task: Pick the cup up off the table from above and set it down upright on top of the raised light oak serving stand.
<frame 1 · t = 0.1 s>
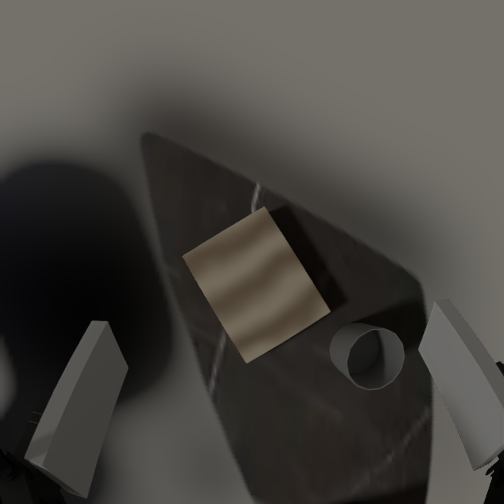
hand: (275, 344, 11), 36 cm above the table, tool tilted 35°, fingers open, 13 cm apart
cup: (354, 348, 45), on the table
oak stand: (256, 285, 47), on the table
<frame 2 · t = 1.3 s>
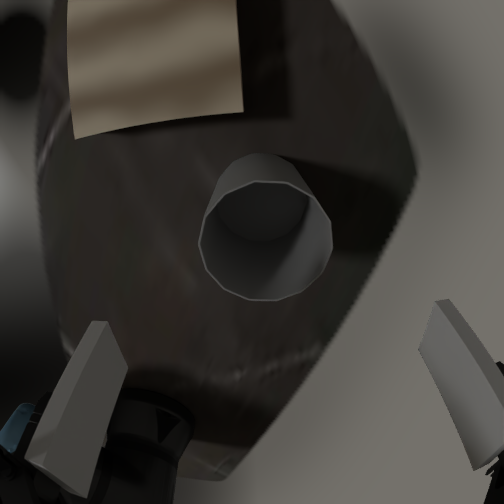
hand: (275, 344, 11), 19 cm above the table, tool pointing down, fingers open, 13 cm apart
cup: (261, 197, 28), on the table
oak stand: (157, 27, 20), on the table
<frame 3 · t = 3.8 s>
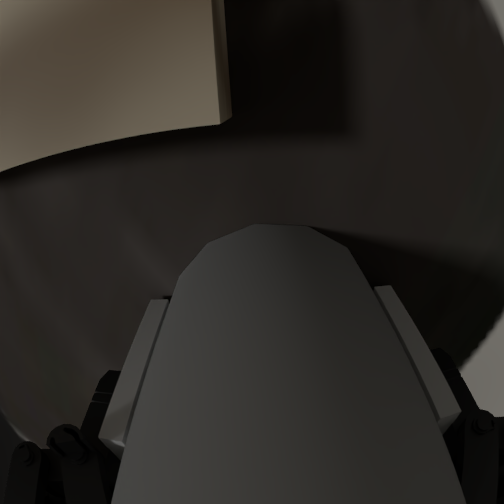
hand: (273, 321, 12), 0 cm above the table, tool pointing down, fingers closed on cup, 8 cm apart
cup: (272, 312, 13), on the table, touching gripper
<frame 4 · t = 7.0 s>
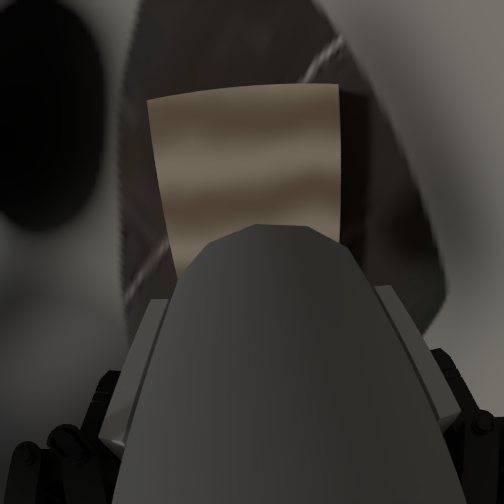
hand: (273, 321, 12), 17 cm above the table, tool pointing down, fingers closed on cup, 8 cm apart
cup: (272, 312, 13), point 16 cm above the table, touching gripper
oak stand: (251, 190, 27), on the table
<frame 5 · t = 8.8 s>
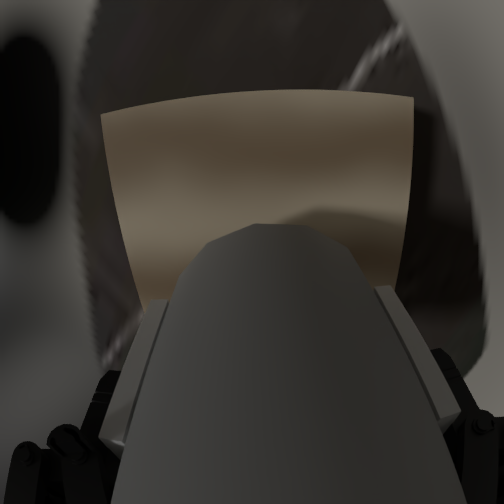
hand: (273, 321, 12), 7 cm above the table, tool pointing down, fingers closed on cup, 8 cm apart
cup: (272, 312, 13), point 7 cm above the table, touching gripper
oak stand: (265, 246, 19), on the table
when the fingers open (6 cm above the table, at t = 10.0 s): cup drops 1 cm, resting on oak stand.
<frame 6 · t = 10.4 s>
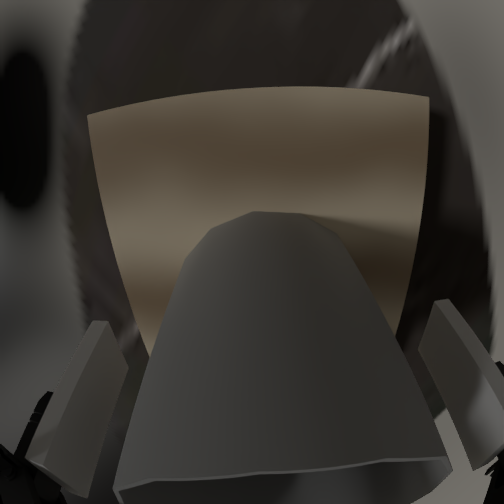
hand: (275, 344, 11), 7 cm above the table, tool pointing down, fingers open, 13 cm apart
cup: (269, 294, 14), point 4 cm above the table, touching oak stand
oak stand: (267, 255, 18), on the table
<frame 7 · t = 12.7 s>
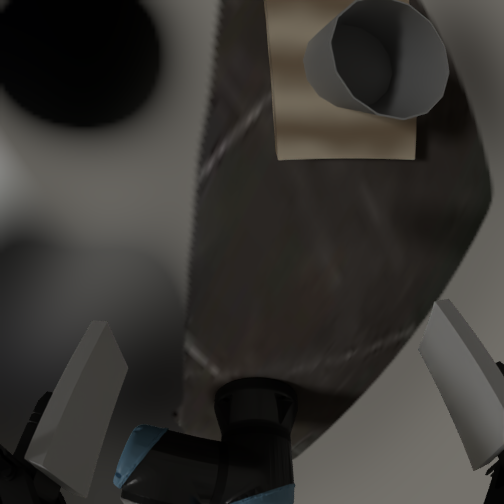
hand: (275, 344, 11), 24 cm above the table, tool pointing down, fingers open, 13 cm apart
cup: (348, 66, 23), point 4 cm above the table, touching oak stand
oak stand: (338, 68, 26), on the table
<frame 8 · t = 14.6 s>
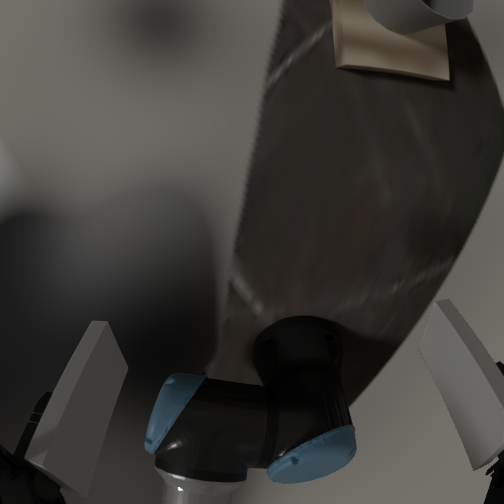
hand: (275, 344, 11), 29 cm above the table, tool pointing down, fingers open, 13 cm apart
cup: (394, 3, 23), point 4 cm above the table, touching oak stand
oak stand: (382, 10, 26), on the table
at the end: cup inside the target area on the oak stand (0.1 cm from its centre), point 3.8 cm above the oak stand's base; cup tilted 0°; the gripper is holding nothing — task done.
